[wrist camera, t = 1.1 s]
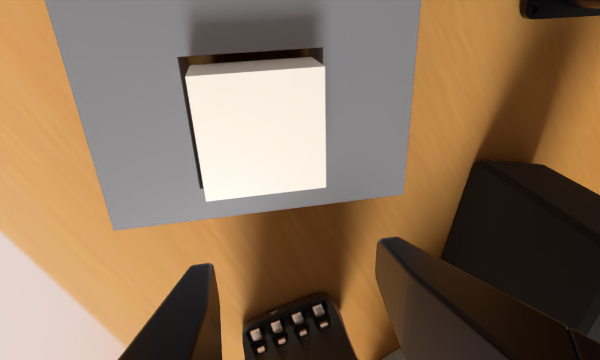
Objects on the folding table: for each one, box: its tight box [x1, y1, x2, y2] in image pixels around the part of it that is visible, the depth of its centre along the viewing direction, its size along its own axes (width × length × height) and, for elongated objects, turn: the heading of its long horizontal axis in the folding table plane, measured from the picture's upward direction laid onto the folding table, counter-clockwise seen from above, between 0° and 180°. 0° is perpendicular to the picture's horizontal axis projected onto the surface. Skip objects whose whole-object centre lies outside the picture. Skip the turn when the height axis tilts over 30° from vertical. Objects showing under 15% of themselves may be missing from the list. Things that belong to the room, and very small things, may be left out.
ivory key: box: [185, 57, 326, 202], centre depth 16 cm, size 5×5×2 cm
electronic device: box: [441, 160, 600, 343], centre depth 21 cm, size 4×10×10 cm, turn 172°
